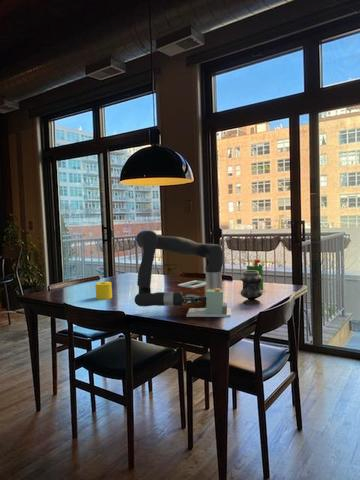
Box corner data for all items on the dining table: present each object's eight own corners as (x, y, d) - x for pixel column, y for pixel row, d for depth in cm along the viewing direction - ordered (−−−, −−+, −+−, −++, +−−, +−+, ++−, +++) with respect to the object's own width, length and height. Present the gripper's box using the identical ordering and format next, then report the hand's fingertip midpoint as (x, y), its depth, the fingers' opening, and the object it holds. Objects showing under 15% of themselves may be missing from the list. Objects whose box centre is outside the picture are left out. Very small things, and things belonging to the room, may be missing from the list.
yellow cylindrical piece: (111, 295, 245) (110, 281, 245) (113, 298, 236) (112, 283, 235) (95, 297, 242) (94, 282, 242) (96, 300, 233) (96, 285, 232)
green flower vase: (256, 286, 253) (255, 257, 252) (266, 288, 246) (265, 258, 244) (245, 289, 248) (244, 259, 246) (255, 291, 240) (254, 260, 239)
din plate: (186, 316, 189) (186, 306, 188) (189, 310, 201) (189, 300, 201) (230, 316, 185) (230, 306, 185) (231, 310, 198) (230, 300, 197)
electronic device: (193, 286, 256) (177, 283, 267) (193, 289, 256) (178, 287, 267) (210, 281, 269) (195, 279, 280) (210, 285, 269) (195, 282, 280)
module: (206, 313, 188) (206, 289, 187) (207, 310, 194) (207, 287, 193) (222, 314, 187) (222, 290, 186) (222, 310, 193) (223, 287, 192)
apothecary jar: (266, 302, 211) (266, 270, 209) (254, 306, 203) (253, 273, 201) (249, 299, 220) (248, 268, 218) (236, 303, 211) (235, 271, 210)
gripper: (170, 294, 187) (205, 294, 184) (175, 289, 200) (207, 289, 197) (171, 309, 188) (206, 309, 185) (175, 303, 201) (208, 303, 198)
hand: (206, 299), depth 191 cm, fingers closed
